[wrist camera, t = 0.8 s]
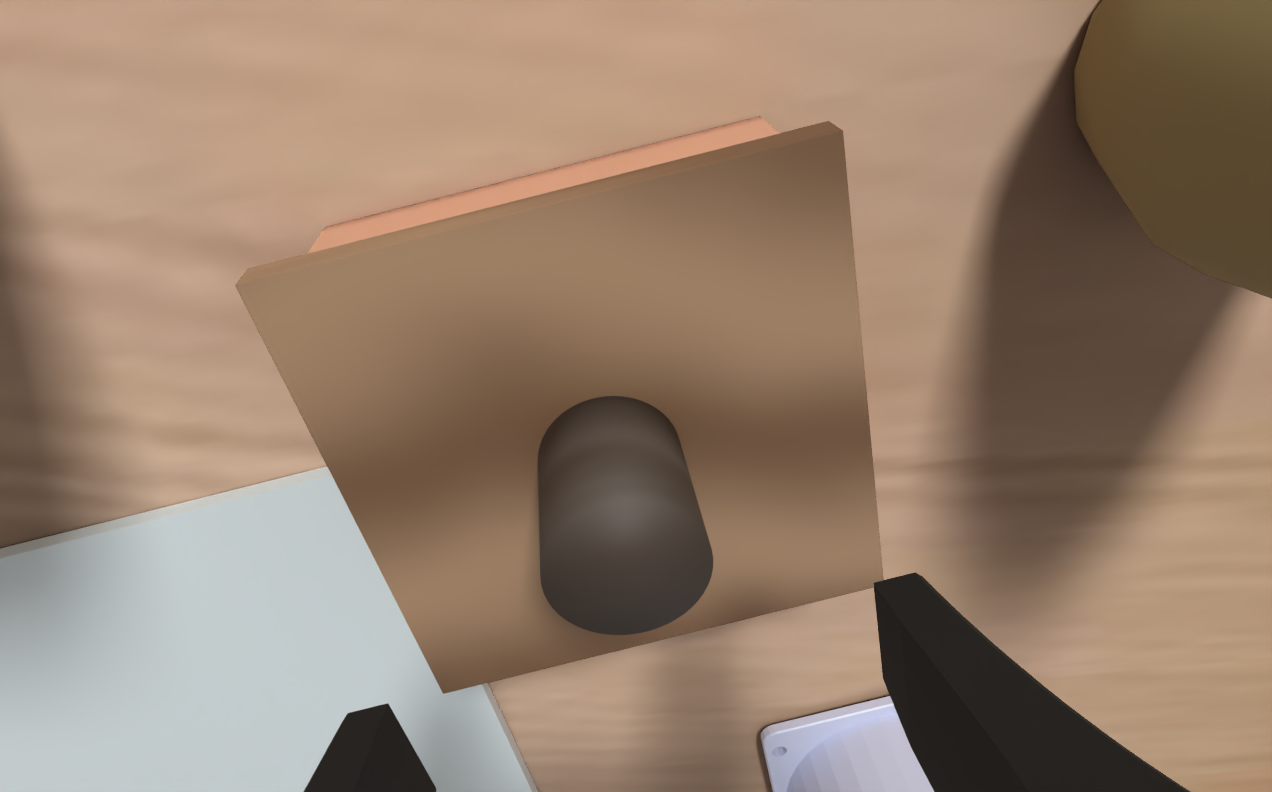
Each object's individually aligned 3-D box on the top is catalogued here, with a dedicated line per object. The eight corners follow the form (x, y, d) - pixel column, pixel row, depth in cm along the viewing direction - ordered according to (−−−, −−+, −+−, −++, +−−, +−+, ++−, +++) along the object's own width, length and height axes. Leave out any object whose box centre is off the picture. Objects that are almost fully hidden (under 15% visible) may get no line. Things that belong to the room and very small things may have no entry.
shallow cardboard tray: (809, 471, 24) (850, 552, 21) (467, 556, 24) (459, 649, 21) (759, 116, 18) (804, 155, 15) (325, 227, 19) (285, 286, 16)
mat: (547, 811, 30) (547, 824, 29) (116, 917, 30) (110, 931, 30) (381, 452, 22) (378, 463, 21) (-208, 600, 22) (-223, 614, 21)
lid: (872, 562, 21) (947, 702, 17) (446, 668, 21) (428, 829, 17) (828, 121, 15) (925, 185, 12) (248, 269, 15) (159, 380, 12)
